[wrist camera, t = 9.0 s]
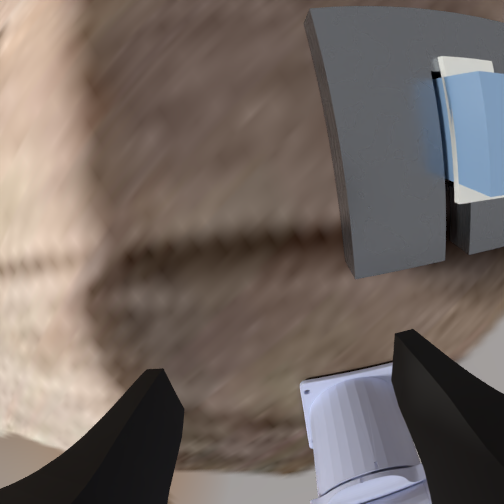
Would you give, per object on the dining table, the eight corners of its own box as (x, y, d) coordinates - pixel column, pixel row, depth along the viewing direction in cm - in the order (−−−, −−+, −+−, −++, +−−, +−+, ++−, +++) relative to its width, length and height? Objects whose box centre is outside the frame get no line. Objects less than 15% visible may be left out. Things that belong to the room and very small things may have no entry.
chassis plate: (532, 222, 17) (552, 233, 15) (345, 260, 19) (355, 279, 17) (516, 37, 12) (537, 32, 10) (303, 23, 14) (309, 8, 12)
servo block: (476, 185, 17) (536, 211, 11) (433, 191, 17) (489, 220, 12) (463, 66, 14) (524, 56, 8) (416, 64, 14) (473, 46, 9)
